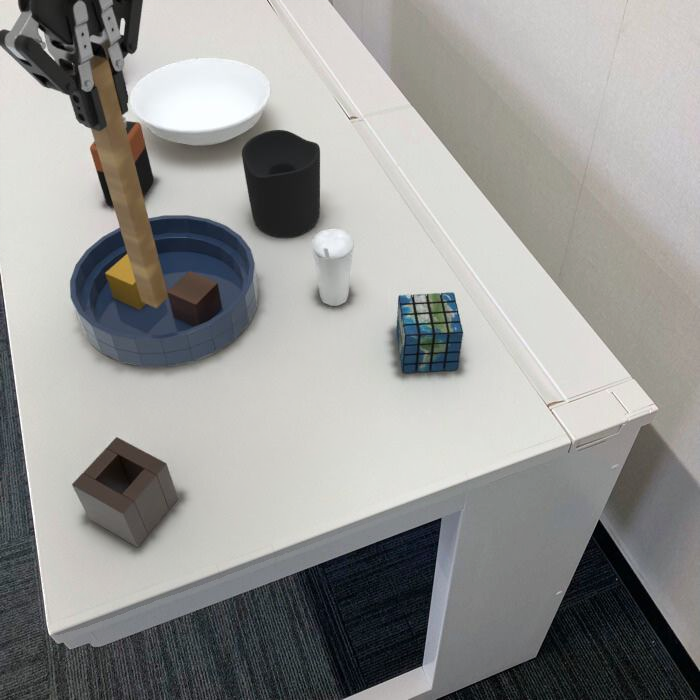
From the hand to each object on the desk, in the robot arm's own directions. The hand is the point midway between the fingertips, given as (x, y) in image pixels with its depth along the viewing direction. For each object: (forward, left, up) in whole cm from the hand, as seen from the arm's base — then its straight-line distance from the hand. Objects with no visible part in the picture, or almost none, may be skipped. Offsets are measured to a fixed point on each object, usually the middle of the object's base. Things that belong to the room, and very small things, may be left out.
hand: (105, 118), depth 64 cm
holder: (-17, -10, -29) cm, 35 cm away
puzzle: (+14, -25, -29) cm, 40 cm away
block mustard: (+5, +8, -28) cm, 29 cm away
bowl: (+37, +22, -29) cm, 51 cm away
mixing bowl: (+6, +4, -29) cm, 29 cm away
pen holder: (+26, +1, -29) cm, 39 cm away
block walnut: (+6, 0, -28) cm, 29 cm away
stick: (0, 0, -21) cm, 21 cm away
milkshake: (+16, -12, -29) cm, 35 cm away
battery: (+20, +22, -29) cm, 41 cm away
